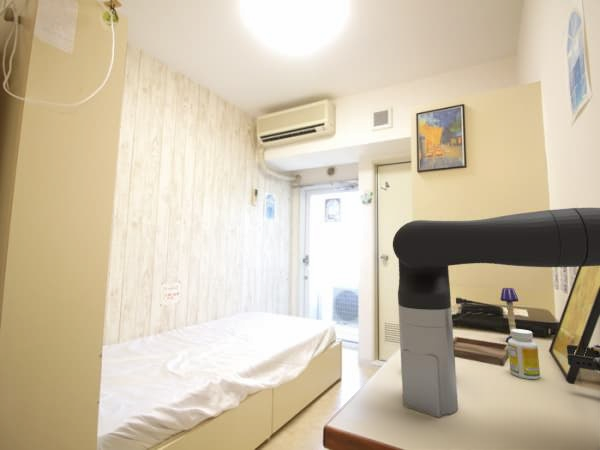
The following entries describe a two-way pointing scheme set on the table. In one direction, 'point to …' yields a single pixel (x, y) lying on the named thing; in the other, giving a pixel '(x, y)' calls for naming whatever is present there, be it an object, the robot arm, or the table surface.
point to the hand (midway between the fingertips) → (567, 354)
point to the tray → (481, 350)
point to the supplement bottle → (523, 354)
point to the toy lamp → (509, 306)
